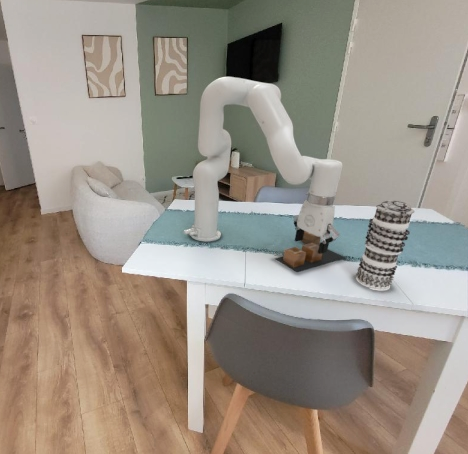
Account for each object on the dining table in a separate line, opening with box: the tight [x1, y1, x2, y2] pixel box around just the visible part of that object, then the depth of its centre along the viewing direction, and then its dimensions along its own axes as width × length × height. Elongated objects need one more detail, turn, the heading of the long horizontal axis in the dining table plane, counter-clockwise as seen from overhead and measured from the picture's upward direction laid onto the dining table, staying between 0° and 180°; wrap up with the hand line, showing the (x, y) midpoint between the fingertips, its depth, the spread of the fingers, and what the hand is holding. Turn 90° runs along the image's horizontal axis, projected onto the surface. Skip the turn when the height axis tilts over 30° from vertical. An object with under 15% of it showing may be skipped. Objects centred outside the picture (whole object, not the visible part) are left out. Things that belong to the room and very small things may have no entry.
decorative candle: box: [355, 200, 415, 292], centre depth 82 cm, size 9×9×25 cm
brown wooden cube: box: [283, 246, 306, 268], centre depth 98 cm, size 5×5×5 cm
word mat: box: [274, 248, 346, 273], centre depth 101 cm, size 22×10×1 cm, turn 111°
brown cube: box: [300, 243, 322, 263], centre depth 100 cm, size 5×5×5 cm
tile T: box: [300, 231, 321, 245], centre depth 111 cm, size 5×5×5 cm
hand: (309, 246), depth 100 cm, fingers open, 9 cm apart
